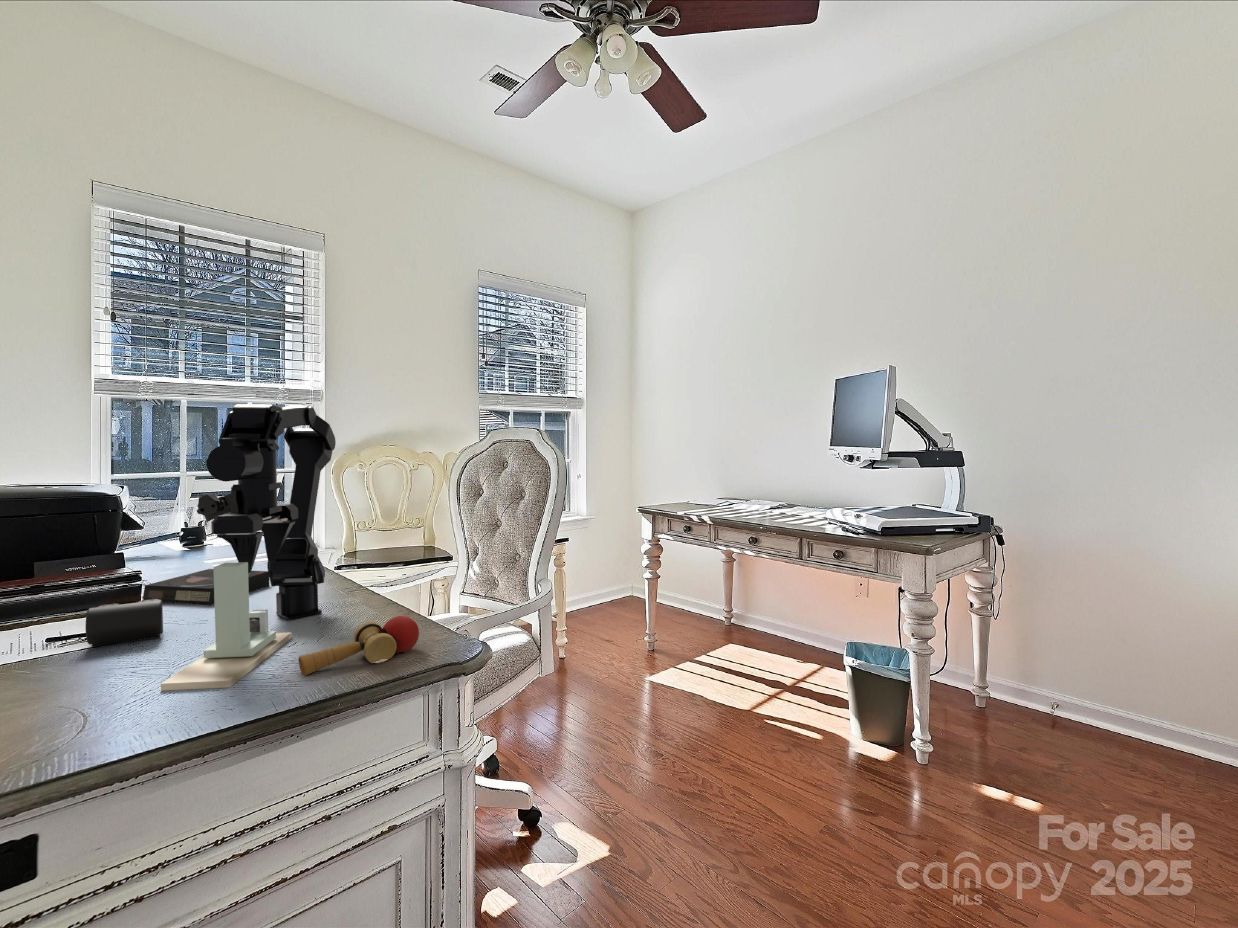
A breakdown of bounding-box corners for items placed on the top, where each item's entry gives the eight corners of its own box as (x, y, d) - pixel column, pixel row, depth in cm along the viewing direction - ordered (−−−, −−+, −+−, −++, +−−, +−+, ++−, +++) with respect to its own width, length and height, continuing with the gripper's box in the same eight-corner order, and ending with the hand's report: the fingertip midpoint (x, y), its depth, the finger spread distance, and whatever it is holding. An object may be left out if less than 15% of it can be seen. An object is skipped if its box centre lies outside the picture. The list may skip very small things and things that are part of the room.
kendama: (313, 693, 86) (430, 647, 98) (303, 650, 86) (422, 609, 98) (300, 686, 92) (412, 643, 104) (291, 646, 92) (404, 608, 104)
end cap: (86, 653, 98) (84, 612, 98) (93, 641, 104) (91, 602, 104) (162, 641, 104) (160, 603, 104) (164, 630, 110) (163, 594, 109)
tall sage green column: (232, 639, 101) (229, 556, 100) (276, 637, 102) (274, 555, 101) (203, 658, 92) (200, 567, 92) (252, 656, 93) (249, 566, 92)
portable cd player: (142, 604, 128) (142, 585, 128) (209, 584, 145) (209, 568, 145) (208, 607, 125) (208, 589, 125) (269, 587, 142) (269, 571, 142)
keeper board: (237, 639, 104) (236, 608, 104) (291, 637, 105) (290, 606, 105) (160, 690, 83) (159, 651, 83) (229, 687, 85) (228, 648, 84)
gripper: (235, 474, 111) (237, 557, 111) (173, 481, 92) (176, 581, 93) (298, 474, 112) (300, 556, 113) (250, 481, 94) (252, 579, 94)
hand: (259, 567), depth 103 cm, fingers open, 9 cm apart
